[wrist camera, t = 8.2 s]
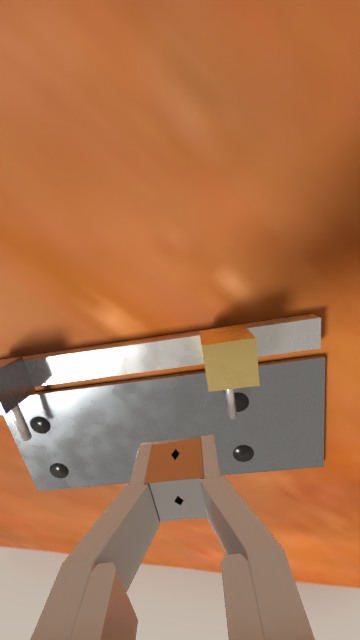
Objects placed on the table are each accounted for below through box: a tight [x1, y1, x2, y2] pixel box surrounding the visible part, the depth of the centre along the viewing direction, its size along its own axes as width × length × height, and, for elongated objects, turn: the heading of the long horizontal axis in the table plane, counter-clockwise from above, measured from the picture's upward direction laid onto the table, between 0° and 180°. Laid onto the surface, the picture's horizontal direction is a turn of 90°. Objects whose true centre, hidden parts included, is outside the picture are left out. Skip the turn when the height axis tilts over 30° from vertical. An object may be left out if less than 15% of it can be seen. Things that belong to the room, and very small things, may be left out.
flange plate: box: [3, 355, 325, 491], centre depth 23 cm, size 14×36×1 cm, turn 100°
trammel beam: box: [0, 314, 321, 442], centre depth 19 cm, size 9×34×5 cm, turn 100°
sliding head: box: [199, 325, 260, 419], centre depth 17 cm, size 9×4×4 cm, turn 10°
